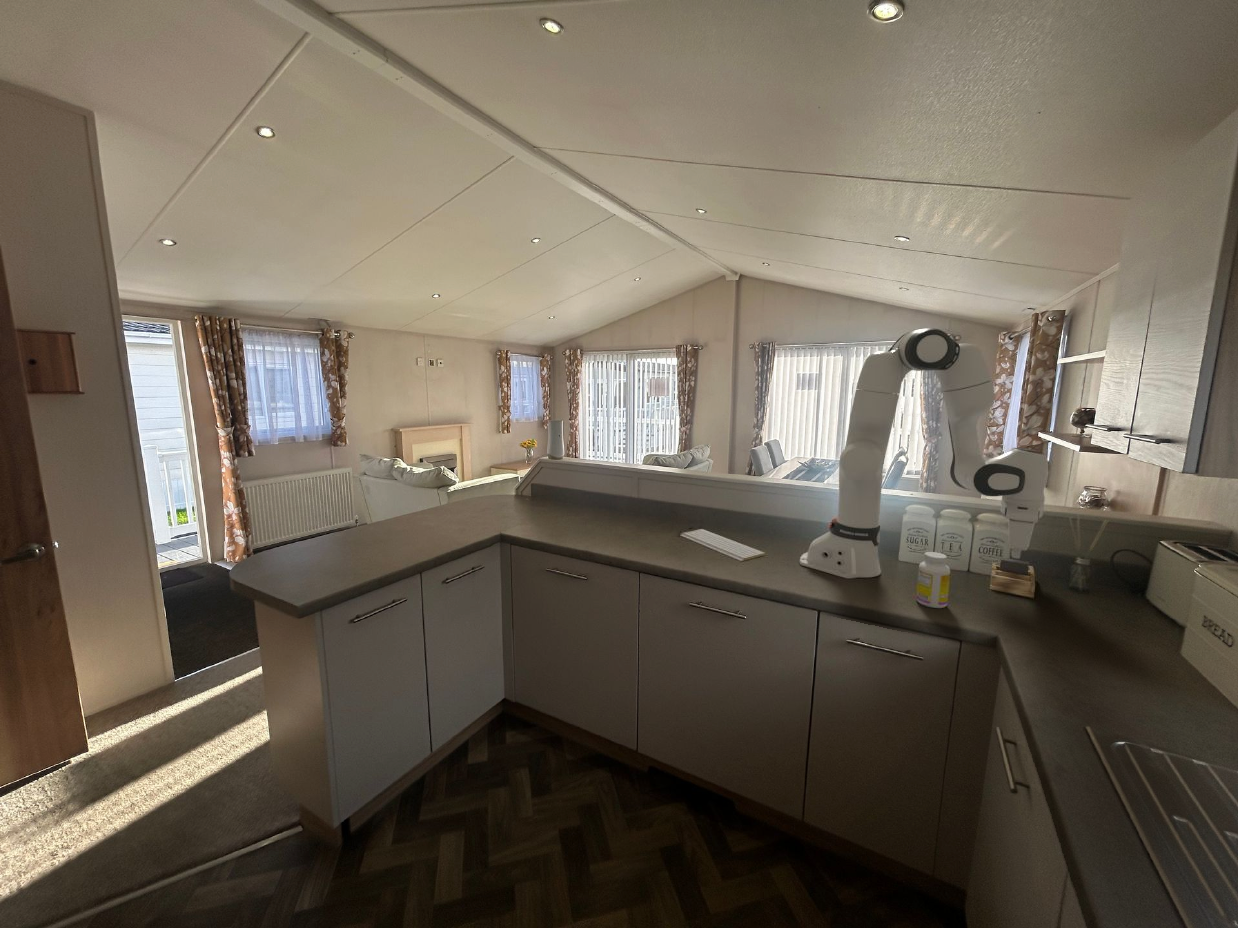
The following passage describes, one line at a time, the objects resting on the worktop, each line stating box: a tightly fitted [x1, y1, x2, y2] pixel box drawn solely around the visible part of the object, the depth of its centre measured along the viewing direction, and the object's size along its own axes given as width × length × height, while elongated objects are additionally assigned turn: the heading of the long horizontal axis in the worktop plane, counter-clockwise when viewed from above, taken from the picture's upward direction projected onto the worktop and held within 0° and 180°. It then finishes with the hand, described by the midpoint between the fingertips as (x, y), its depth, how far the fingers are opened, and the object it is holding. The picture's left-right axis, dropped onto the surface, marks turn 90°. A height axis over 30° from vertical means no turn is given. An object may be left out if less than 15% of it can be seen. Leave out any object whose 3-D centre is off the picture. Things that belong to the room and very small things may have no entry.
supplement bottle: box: [915, 551, 951, 609], centre depth 122 cm, size 7×7×13 cm
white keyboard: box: [678, 526, 766, 562], centre depth 168 cm, size 31×3×12 cm
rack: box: [989, 562, 1036, 599], centre depth 135 cm, size 9×18×4 cm, turn 142°
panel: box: [999, 556, 1030, 576], centre depth 134 cm, size 6×2×6 cm, turn 52°
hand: (1015, 556), depth 134 cm, fingers closed
